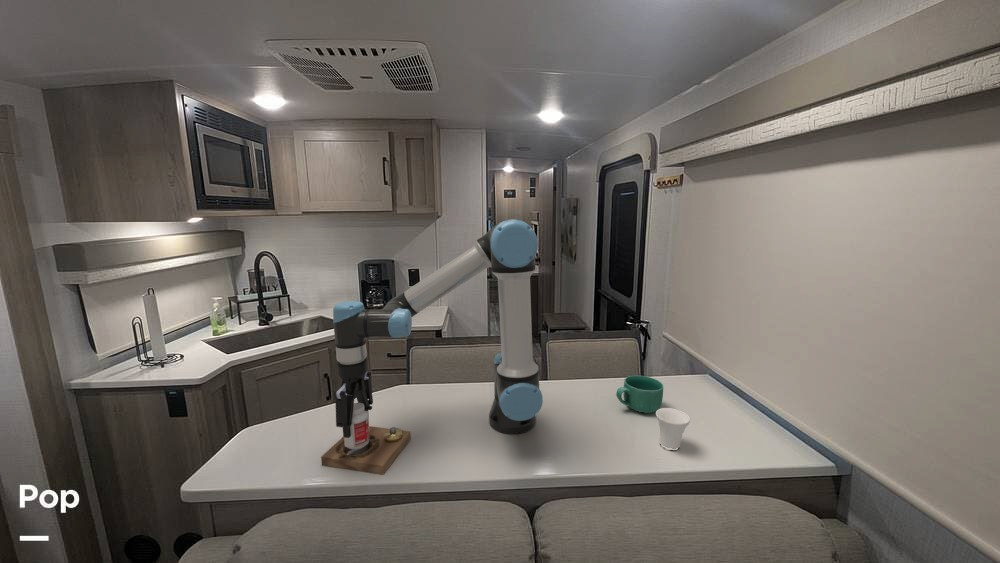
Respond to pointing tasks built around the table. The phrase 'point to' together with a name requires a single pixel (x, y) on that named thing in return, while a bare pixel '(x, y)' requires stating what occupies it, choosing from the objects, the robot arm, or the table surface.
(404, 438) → the carrier plate
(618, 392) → the mug
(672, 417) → the cup
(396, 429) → the disc
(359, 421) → the pill bottle
